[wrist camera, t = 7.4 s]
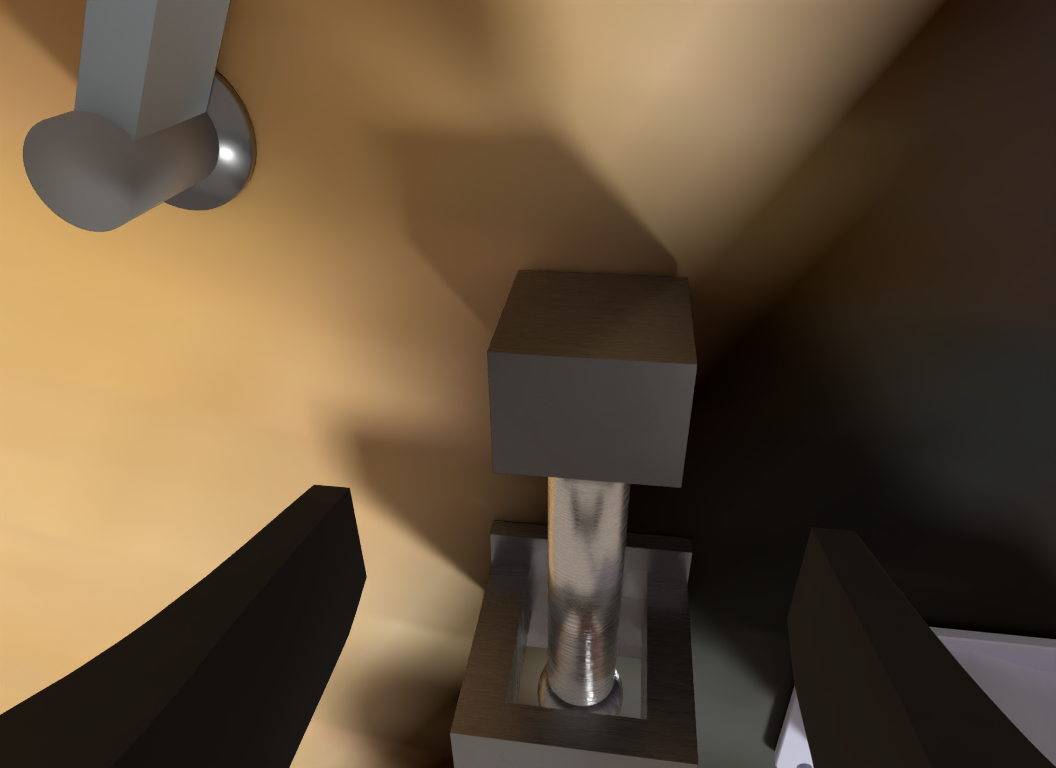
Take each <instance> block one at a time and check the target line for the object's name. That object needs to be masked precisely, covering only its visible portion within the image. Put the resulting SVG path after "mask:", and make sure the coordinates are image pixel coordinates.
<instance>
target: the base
mask: <svg viewBox="0 0 1056 768" xmlns="http://www.w3.org/2000/svg"><path fill="white" fill-rule="evenodd" d="M206 113H207V114H208V115H209V117H210V119H211V120H212V122H213V124H214V127H215V129H216V132H217V135H218V140H219V158H218V162H217V165H216V167H215V169H214V170H213V171H212V173H211V174H210V175H209V176H208V177H206V178H205V179H203V180H201V181H200V182H198V183H196V184H194V185H193V186H191V187H189V188H187V189H185V190H184V191H182V192H180V193H178V194H177V195H175V196H173V197H171V198H169V199H168V200H166V201H164V202H165V203H168V204H170V205H173V206H176V207H179V208H183V209H188V210H208V209H213V208H216V207H219V206H221V205H223V204H225V203H227V202H229V201H230V200H232V199H233V198H235V197H236V196H237V195H238V194H240V193H241V192H242V190H243V189H244V188H245V187H246V186H247V184H248V182H249V181H250V179H251V176H252V174H253V171H254V167H255V163H256V154H257V152H256V139H255V133H254V129H253V125H252V122H251V119H250V117H249V114H248V112H247V110H246V108H245V106H244V104H243V102H242V100H241V99H240V97H239V96H238V94H237V93H236V91H235V90H234V89H233V88H232V86H231V85H230V84H229V83H228V82H227V81H226V80H225V79H224V78H223V77H222V76H221V75H220V74H219V73H218V72H217V71H216V70H215V73H214V78H213V82H212V87H211V91H210V96H209V101H208V105H207V110H206Z"/></svg>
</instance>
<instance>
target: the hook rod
mask: <svg viewBox="0 0 1056 768" xmlns="http://www.w3.org/2000/svg"><path fill="white" fill-rule="evenodd" d="M487 357H488V377H489V397H490V417H491V437H492V457H493V473H505V474H518V475H530V476H542V477H548V663H547V664H546V666H545V668H544V669H543V671H542V673H541V676H540V679H539V683H538V701H539V706H540V707H547V708H556V709H564V710H572V711H580V712H588V713H597V714H605V715H613V716H618V715H619V713H620V711H621V707H622V702H623V688H622V683H621V679H620V676H619V674H618V672H617V670H616V668H615V667H616V655H617V642H618V630H619V618H620V606H621V594H622V581H623V569H624V557H625V545H626V532H627V520H628V508H629V496H630V484H641V485H653V486H666V487H678V488H681V485H682V477H683V470H684V462H685V455H686V447H687V439H688V432H689V424H690V416H691V409H692V401H693V394H694V386H695V378H696V371H697V357H696V348H695V339H694V330H693V321H692V312H691V303H690V294H689V285H688V278H682V277H660V276H638V275H615V274H593V273H571V272H548V271H526V270H518V273H517V276H516V278H515V281H514V283H513V286H512V289H511V291H510V294H509V296H508V299H507V302H506V304H505V307H504V310H503V312H502V315H501V317H500V320H499V323H498V325H497V328H496V330H495V333H494V336H493V338H492V341H491V344H490V346H489V349H488V351H487Z"/></svg>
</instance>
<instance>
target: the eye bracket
mask: <svg viewBox="0 0 1056 768" xmlns="http://www.w3.org/2000/svg"><path fill="white" fill-rule="evenodd" d="M490 544H491V561H492V566H491V570H490V574H489V578H488V582H487V586H486V590H485V594H484V598H483V602H482V606H481V610H480V614H479V618H478V622H477V626H476V630H475V634H474V638H473V642H472V647H471V651H470V655H469V659H468V663H467V667H466V671H465V675H464V679H463V683H462V687H461V691H460V695H459V699H458V703H457V707H456V711H455V715H454V719H453V723H452V727H451V731H450V736H451V744H452V753H453V761H454V768H698V753H697V736H696V719H695V702H694V685H693V668H692V651H691V634H690V617H689V600H688V578H689V571H690V565H691V558H692V542H691V538H682V537H671V536H660V535H649V534H638V533H627V532H626V545H625V557H624V569H623V581H622V594H621V606H620V618H619V630H618V642H617V655H616V656H623V657H632V658H641V719H638V718H629V717H621V716H613V715H605V714H597V713H588V712H580V711H572V710H564V709H556V708H547V707H539V706H531V705H523V704H516V703H517V697H518V692H519V686H520V680H521V674H522V668H523V662H524V656H525V651H526V646H533V647H542V648H548V525H537V524H526V523H515V522H504V521H493V525H492V528H491V532H490Z"/></svg>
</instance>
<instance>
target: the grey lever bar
mask: <svg viewBox="0 0 1056 768" xmlns="http://www.w3.org/2000/svg"><path fill="white" fill-rule="evenodd" d="M229 4H230V0H87V3H86V12H85V21H84V30H83V38H82V47H81V56H80V65H79V74H78V83H77V92H76V101H75V110H74V111H71V112H68V113H64V114H61V115H58V116H55V117H52V118H49V119H45V120H42V121H41V122H39V123H37V124H36V125H34V126H33V127H32V128H31V130H30V131H29V132H28V134H27V136H26V138H25V141H24V146H23V161H24V166H25V170H26V173H27V176H28V178H29V180H30V183H31V185H32V186H33V188H34V190H35V191H36V193H37V194H38V196H39V197H40V198H41V200H42V201H43V202H44V203H45V204H46V205H47V206H48V207H49V208H50V209H51V210H52V211H53V212H54V213H55V214H56V215H58V216H59V217H60V218H62V219H63V220H65V221H66V222H68V223H70V224H72V225H74V226H76V227H78V228H81V229H84V230H88V231H94V232H105V231H110V230H113V229H116V228H118V227H120V226H121V225H123V224H125V223H127V222H129V221H130V220H132V219H134V218H136V217H137V216H139V215H141V214H143V213H145V212H146V211H148V210H150V209H152V208H153V207H155V206H157V205H159V204H161V203H162V202H164V201H166V200H168V199H169V198H171V197H173V196H175V195H177V194H178V193H180V192H182V191H184V190H185V189H187V188H189V187H191V186H193V185H194V184H196V183H198V182H200V181H201V180H203V179H205V178H206V177H208V176H209V175H210V174H211V173H212V171H213V170H214V169H215V167H216V165H217V162H218V158H219V140H218V135H217V132H216V129H215V127H214V124H213V122H212V120H211V119H210V117H209V115H208V114H207V113H206V110H207V105H208V101H209V96H210V91H211V87H212V82H213V78H214V73H215V68H216V64H217V59H218V55H219V50H220V45H221V41H222V36H223V32H224V27H225V22H226V18H227V13H228V9H229Z"/></svg>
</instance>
